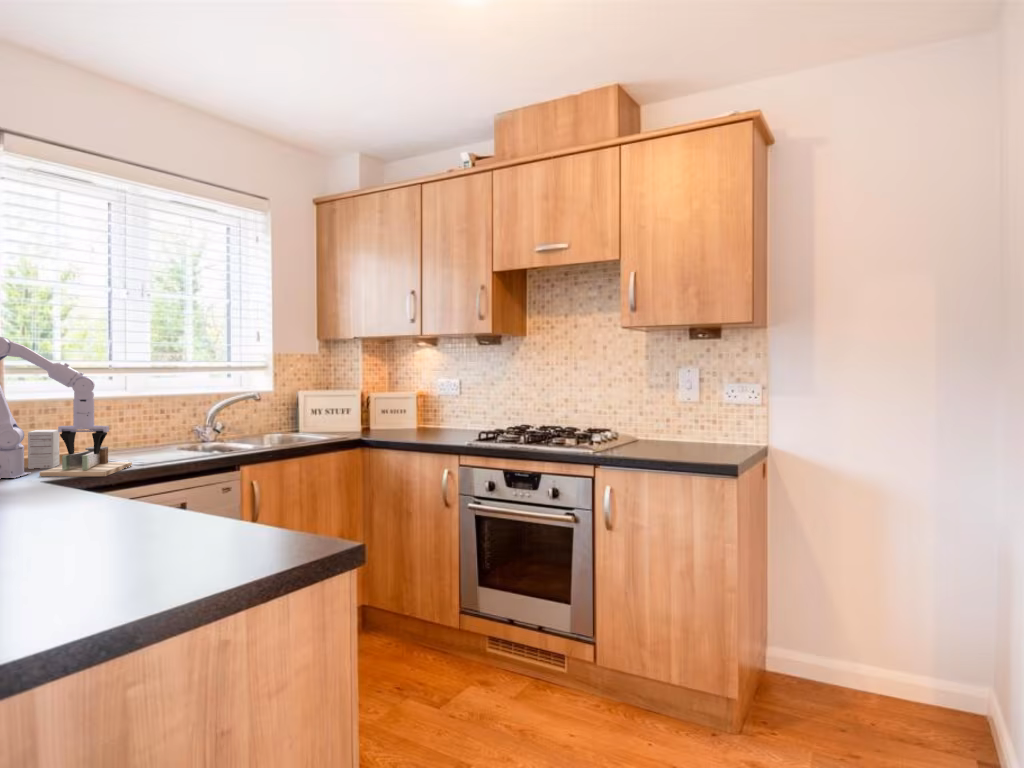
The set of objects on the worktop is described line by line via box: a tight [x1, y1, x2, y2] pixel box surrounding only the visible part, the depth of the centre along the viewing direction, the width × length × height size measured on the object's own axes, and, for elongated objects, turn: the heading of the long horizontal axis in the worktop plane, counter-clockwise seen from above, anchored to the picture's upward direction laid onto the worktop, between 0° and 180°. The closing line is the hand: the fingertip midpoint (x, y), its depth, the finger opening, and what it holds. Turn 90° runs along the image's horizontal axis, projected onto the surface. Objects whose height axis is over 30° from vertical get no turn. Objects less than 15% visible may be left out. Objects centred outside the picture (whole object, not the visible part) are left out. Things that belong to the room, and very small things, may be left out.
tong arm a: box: [82, 451, 100, 470], centre depth 208 cm, size 14×1×5 cm, turn 19°
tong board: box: [39, 446, 133, 477], centre depth 209 cm, size 20×19×7 cm
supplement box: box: [27, 429, 60, 470], centre depth 216 cm, size 7×7×13 cm
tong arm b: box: [61, 450, 94, 470], centre depth 208 cm, size 14×1×5 cm, turn 1°
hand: (83, 453), depth 207 cm, fingers open, 7 cm apart
